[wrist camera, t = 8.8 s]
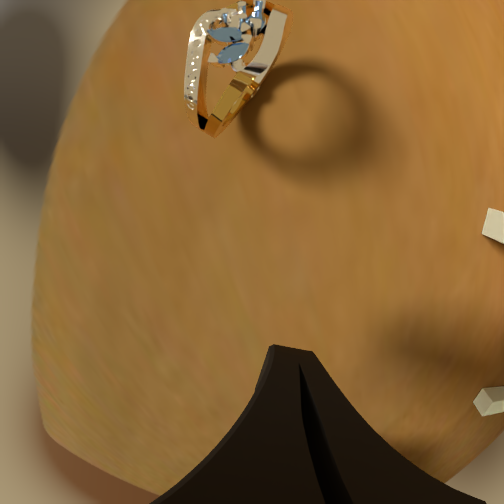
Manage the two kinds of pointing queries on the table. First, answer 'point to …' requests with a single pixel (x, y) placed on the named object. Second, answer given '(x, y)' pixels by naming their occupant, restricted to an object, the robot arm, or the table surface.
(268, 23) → the ring
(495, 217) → the guide
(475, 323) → the table surface
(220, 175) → the table surface
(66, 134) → the table surface
